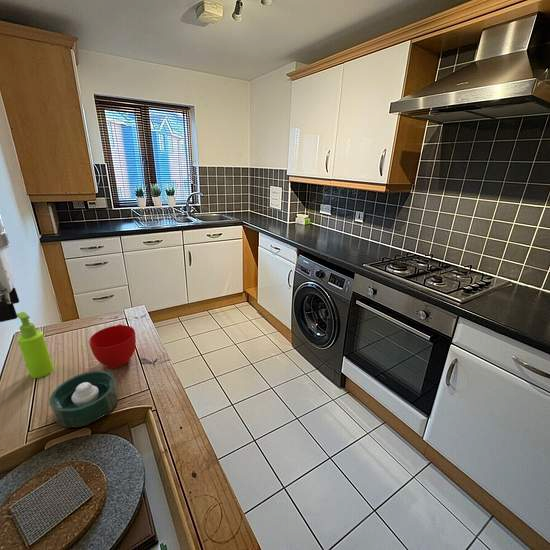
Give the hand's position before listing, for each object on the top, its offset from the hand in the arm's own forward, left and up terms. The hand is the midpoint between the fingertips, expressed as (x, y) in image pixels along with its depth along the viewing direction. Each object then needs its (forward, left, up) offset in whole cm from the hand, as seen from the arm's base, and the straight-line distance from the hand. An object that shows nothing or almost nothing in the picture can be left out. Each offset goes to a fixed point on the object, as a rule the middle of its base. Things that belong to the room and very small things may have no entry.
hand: (10, 311), depth 69 cm
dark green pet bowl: (+10, -9, -28) cm, 31 cm away
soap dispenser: (0, +16, -28) cm, 33 cm away
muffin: (+10, -9, -28) cm, 31 cm away
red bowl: (+21, +9, -28) cm, 37 cm away
